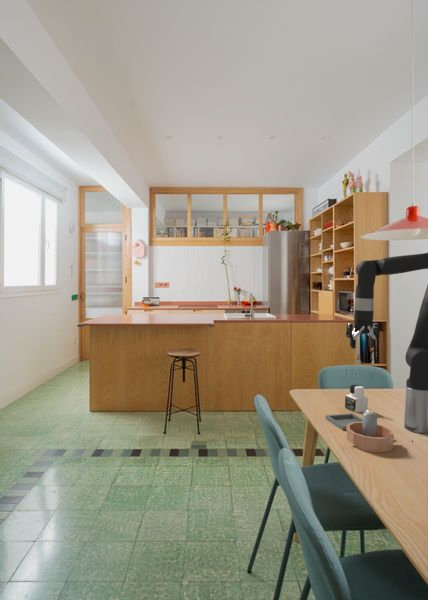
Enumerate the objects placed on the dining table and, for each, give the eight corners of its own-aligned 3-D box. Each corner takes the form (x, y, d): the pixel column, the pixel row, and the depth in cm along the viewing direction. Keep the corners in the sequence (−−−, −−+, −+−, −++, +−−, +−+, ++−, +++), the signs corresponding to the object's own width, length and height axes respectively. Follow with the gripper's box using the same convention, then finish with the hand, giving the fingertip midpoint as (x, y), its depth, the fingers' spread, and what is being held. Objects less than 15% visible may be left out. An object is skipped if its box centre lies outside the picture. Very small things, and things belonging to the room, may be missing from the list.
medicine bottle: (344, 409, 186) (345, 384, 185) (356, 408, 188) (358, 383, 188) (354, 414, 179) (356, 388, 178) (367, 413, 182) (368, 387, 181)
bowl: (373, 432, 159) (374, 420, 158) (402, 450, 143) (403, 436, 143) (338, 436, 155) (338, 423, 154) (363, 454, 139) (363, 440, 139)
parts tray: (352, 418, 174) (352, 413, 174) (371, 430, 161) (371, 424, 161) (325, 421, 170) (325, 415, 170) (342, 432, 158) (342, 426, 158)
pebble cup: (370, 436, 152) (372, 407, 151) (379, 442, 147) (380, 412, 146) (359, 437, 151) (360, 408, 150) (367, 443, 146) (368, 413, 145)
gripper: (354, 310, 160) (352, 350, 161) (384, 310, 163) (382, 349, 164) (343, 308, 167) (342, 346, 168) (373, 308, 171) (371, 346, 172)
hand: (362, 348), depth 166 cm, fingers open, 8 cm apart
